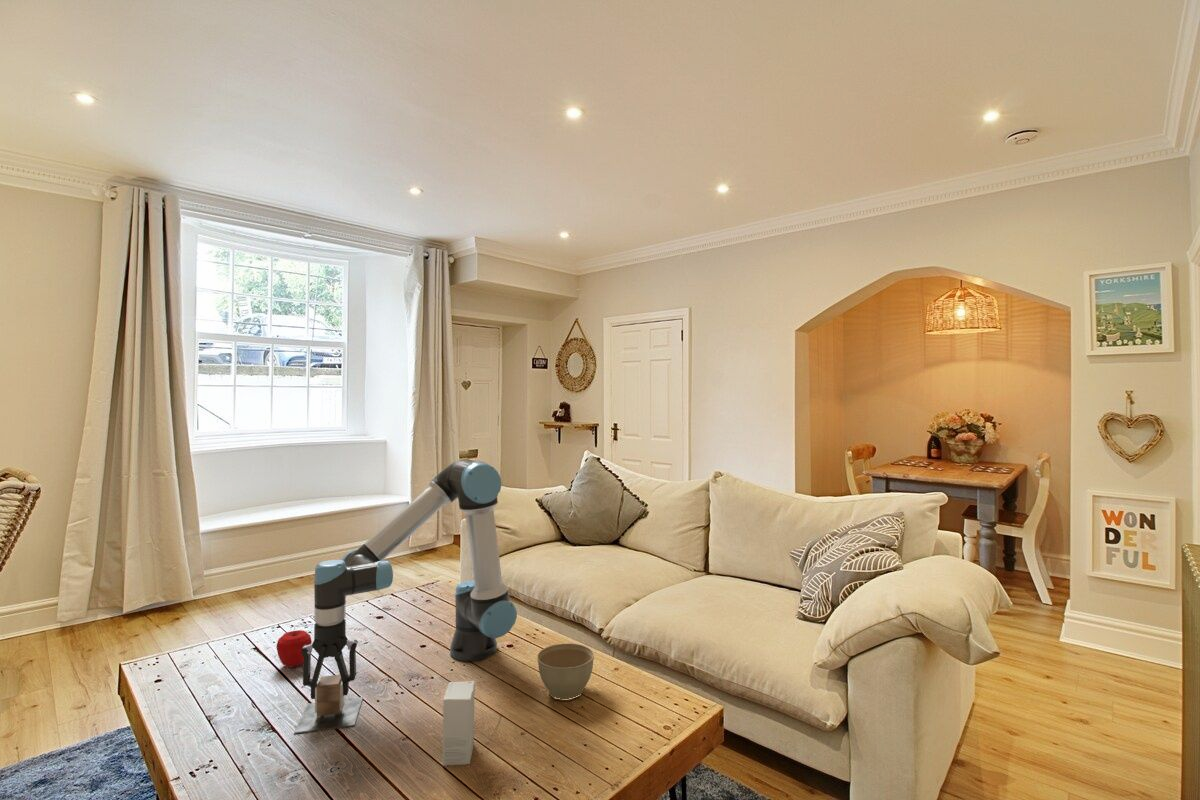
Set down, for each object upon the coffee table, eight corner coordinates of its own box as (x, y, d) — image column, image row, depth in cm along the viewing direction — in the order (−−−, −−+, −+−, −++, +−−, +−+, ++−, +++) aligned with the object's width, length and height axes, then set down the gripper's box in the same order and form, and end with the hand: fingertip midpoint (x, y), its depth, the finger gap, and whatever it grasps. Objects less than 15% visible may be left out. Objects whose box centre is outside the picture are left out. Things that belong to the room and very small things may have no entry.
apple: (269, 669, 178) (269, 634, 178) (296, 656, 187) (295, 622, 187) (292, 674, 174) (292, 639, 174) (318, 661, 183) (318, 627, 183)
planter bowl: (603, 685, 168) (603, 648, 168) (578, 713, 153) (578, 672, 153) (555, 674, 175) (555, 638, 175) (526, 700, 160) (526, 661, 160)
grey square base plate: (362, 698, 161) (362, 675, 161) (354, 726, 147) (354, 701, 147) (308, 705, 157) (307, 681, 157) (294, 734, 144) (294, 708, 144)
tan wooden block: (342, 703, 155) (342, 674, 155) (338, 713, 150) (338, 683, 150) (321, 705, 154) (321, 676, 154) (316, 716, 149) (316, 686, 149)
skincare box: (448, 745, 139) (448, 680, 139) (476, 743, 140) (475, 679, 140) (441, 767, 131) (441, 699, 131) (471, 765, 132) (471, 697, 131)
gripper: (368, 612, 158) (368, 697, 158) (296, 618, 154) (295, 705, 154) (364, 622, 151) (364, 711, 151) (288, 629, 146) (287, 720, 146)
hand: (329, 708), depth 152 cm, fingers closed on tan wooden block, 5 cm apart
